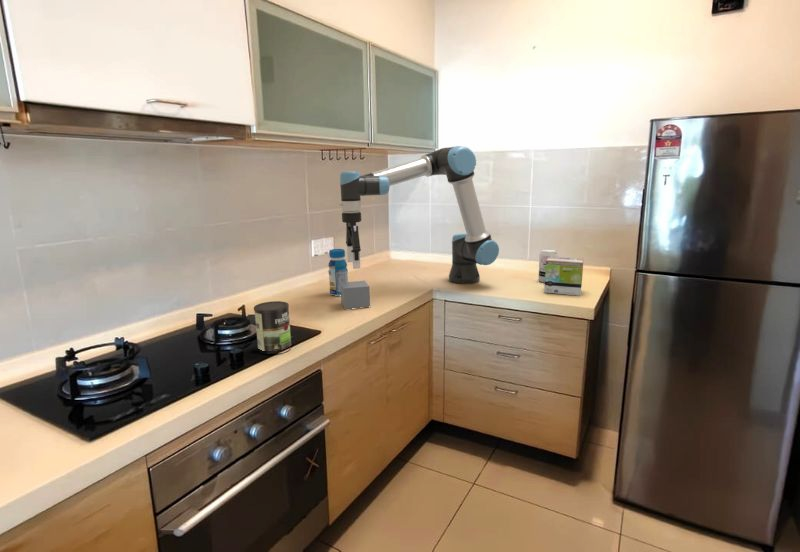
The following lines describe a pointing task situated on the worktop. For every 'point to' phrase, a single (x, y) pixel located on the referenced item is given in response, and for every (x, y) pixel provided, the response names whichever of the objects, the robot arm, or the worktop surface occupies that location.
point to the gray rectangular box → (355, 294)
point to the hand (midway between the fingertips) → (353, 265)
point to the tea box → (563, 275)
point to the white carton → (542, 262)
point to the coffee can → (272, 326)
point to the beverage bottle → (337, 270)
